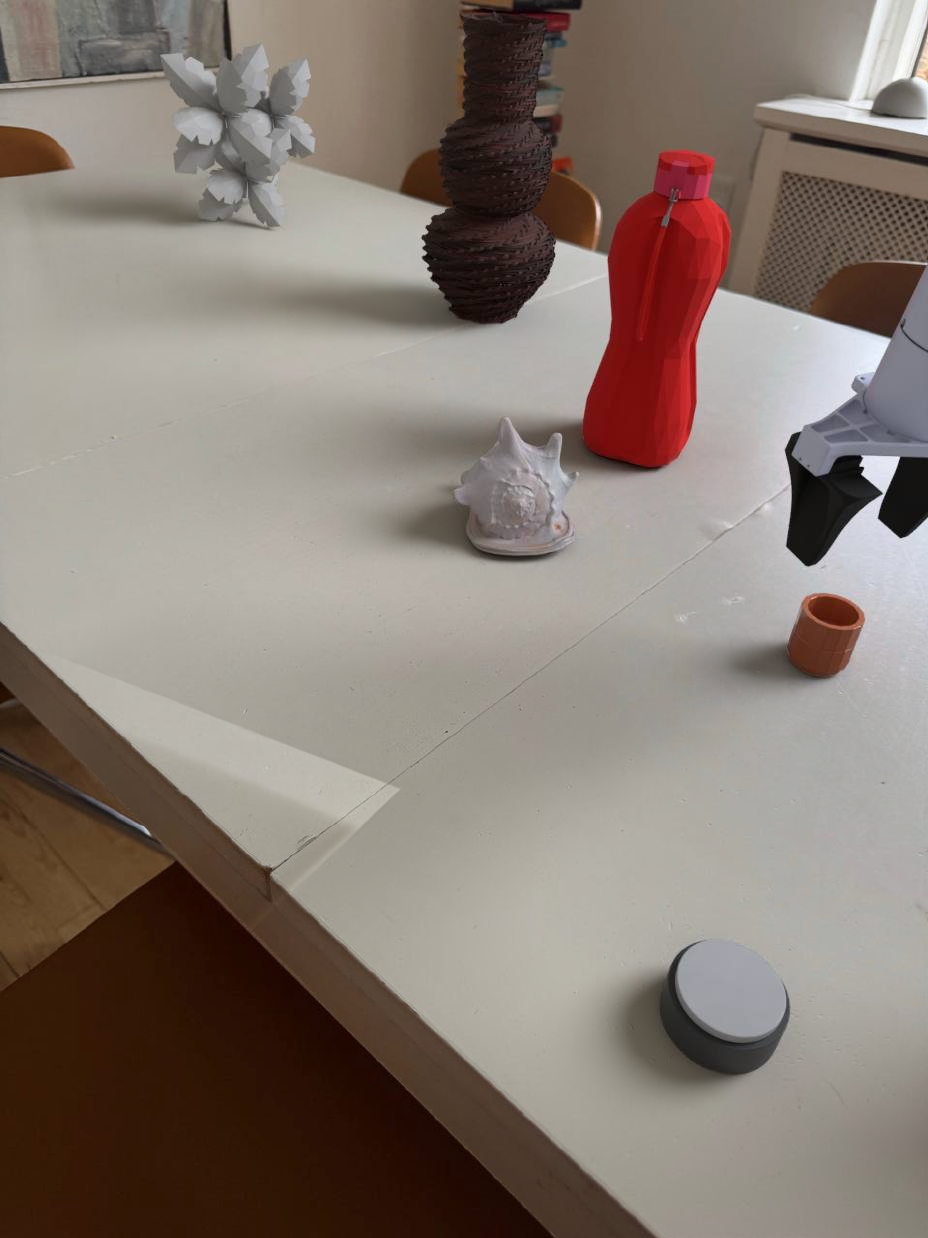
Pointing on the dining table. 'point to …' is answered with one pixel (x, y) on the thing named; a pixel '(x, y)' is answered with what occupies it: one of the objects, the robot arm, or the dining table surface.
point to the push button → (724, 1006)
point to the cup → (825, 634)
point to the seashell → (518, 496)
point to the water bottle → (657, 314)
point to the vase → (494, 176)
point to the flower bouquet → (239, 129)
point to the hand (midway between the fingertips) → (847, 540)
